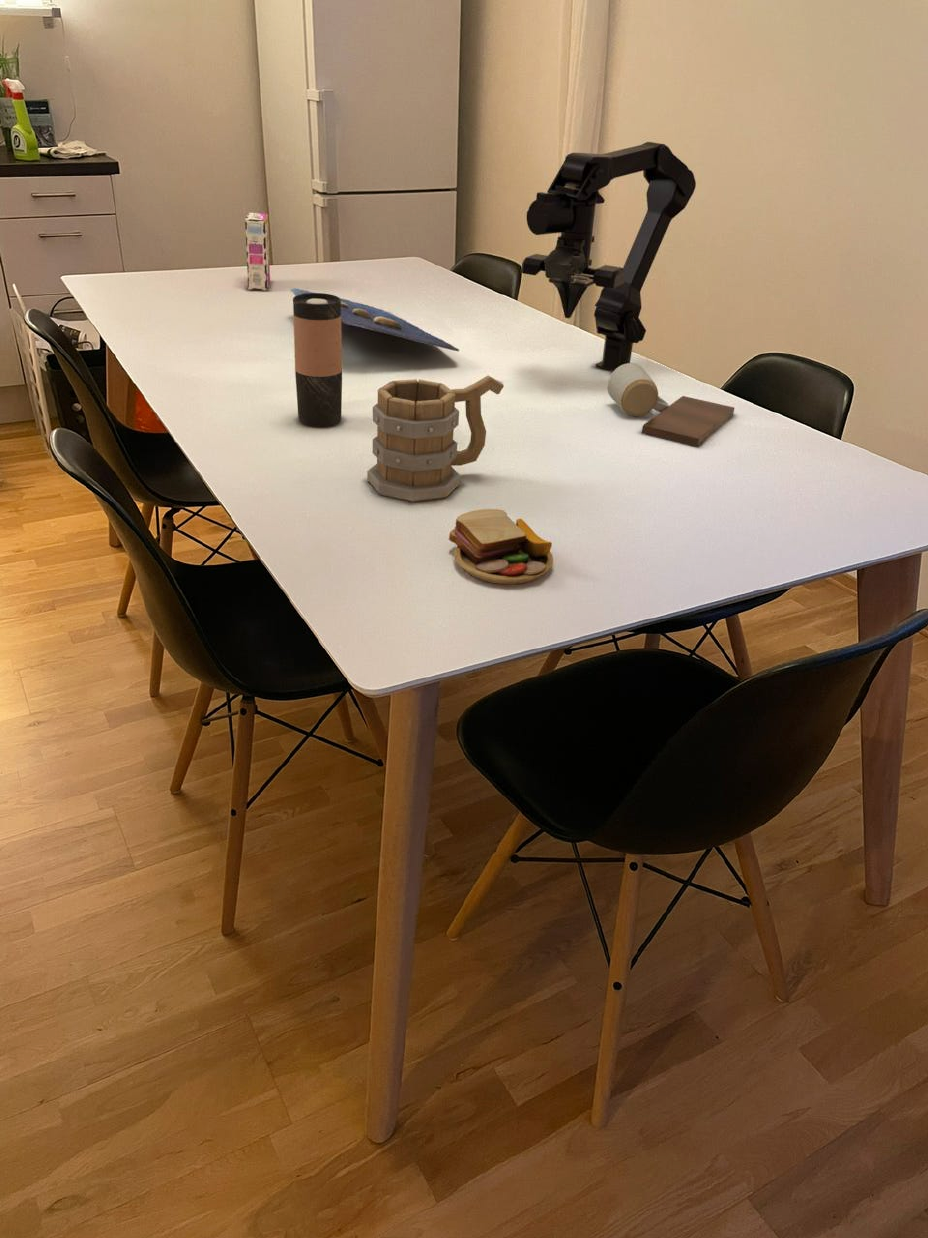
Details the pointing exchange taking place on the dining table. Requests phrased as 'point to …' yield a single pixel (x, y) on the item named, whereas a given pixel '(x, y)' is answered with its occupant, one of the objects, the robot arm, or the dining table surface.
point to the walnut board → (688, 421)
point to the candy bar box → (257, 251)
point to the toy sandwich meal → (499, 548)
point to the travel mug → (318, 358)
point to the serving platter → (382, 322)
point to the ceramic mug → (634, 390)
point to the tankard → (424, 437)
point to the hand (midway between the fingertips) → (567, 317)
